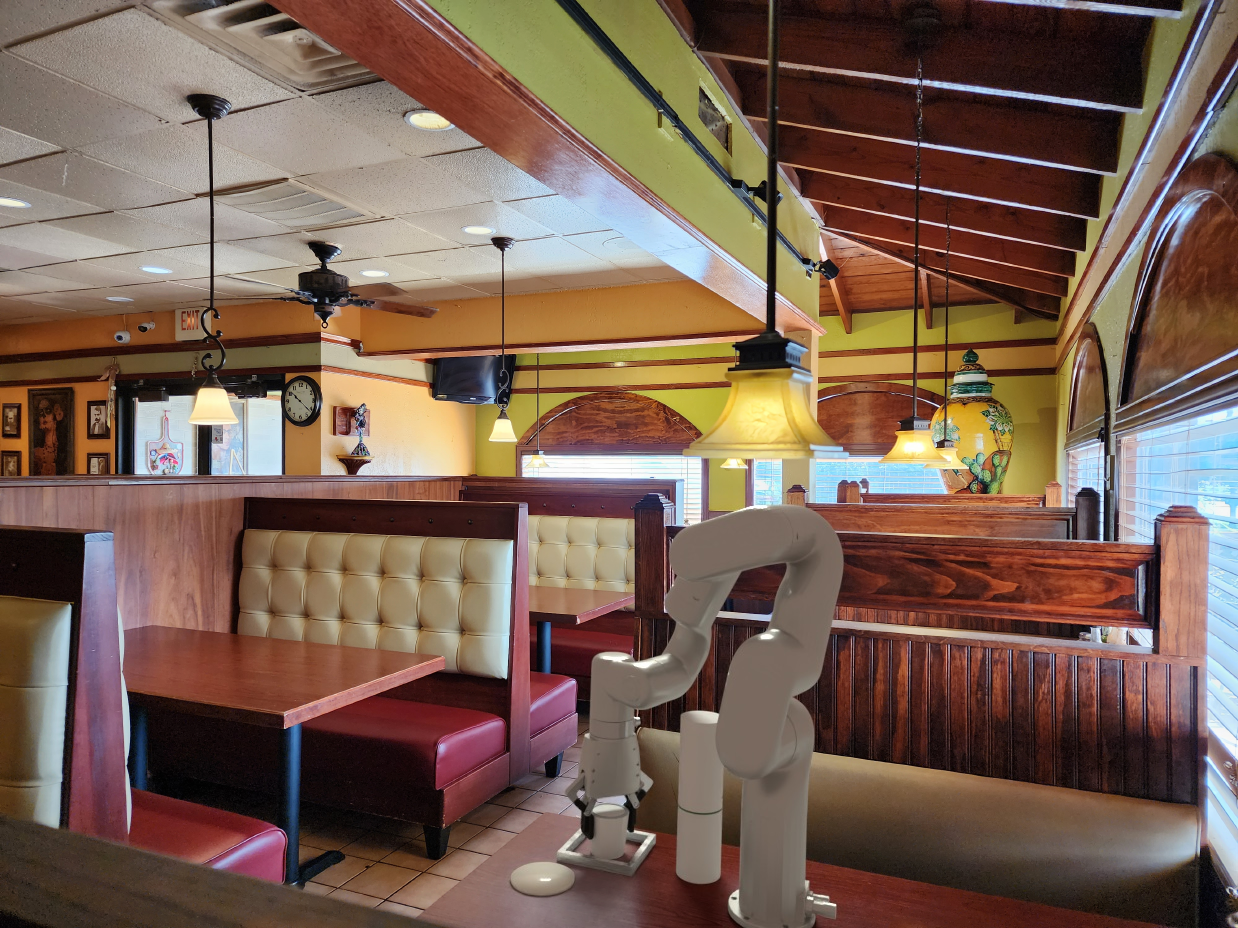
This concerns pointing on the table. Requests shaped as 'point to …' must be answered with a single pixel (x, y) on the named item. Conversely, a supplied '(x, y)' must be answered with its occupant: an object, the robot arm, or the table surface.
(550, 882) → the cream flat disc
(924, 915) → the table surface
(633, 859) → the holder collar
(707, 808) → the cylindrical container
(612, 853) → the white cup
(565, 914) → the table surface
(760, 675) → the robot arm
